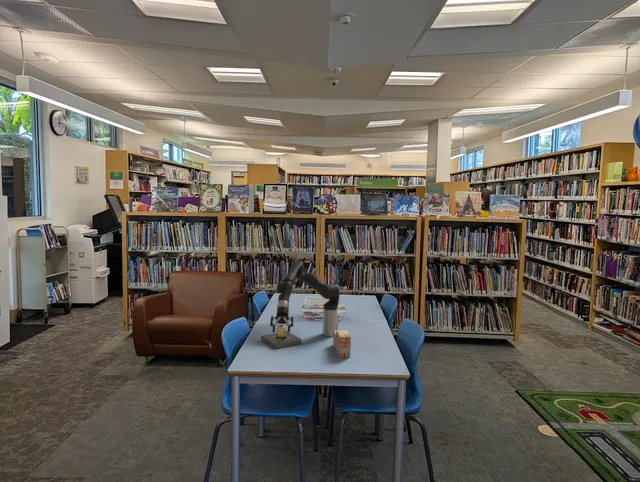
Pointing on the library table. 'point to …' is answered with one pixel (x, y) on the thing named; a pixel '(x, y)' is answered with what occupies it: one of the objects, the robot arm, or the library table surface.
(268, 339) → the plate
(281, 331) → the brass sleeve
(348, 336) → the stack of blocks
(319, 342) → the library table surface
